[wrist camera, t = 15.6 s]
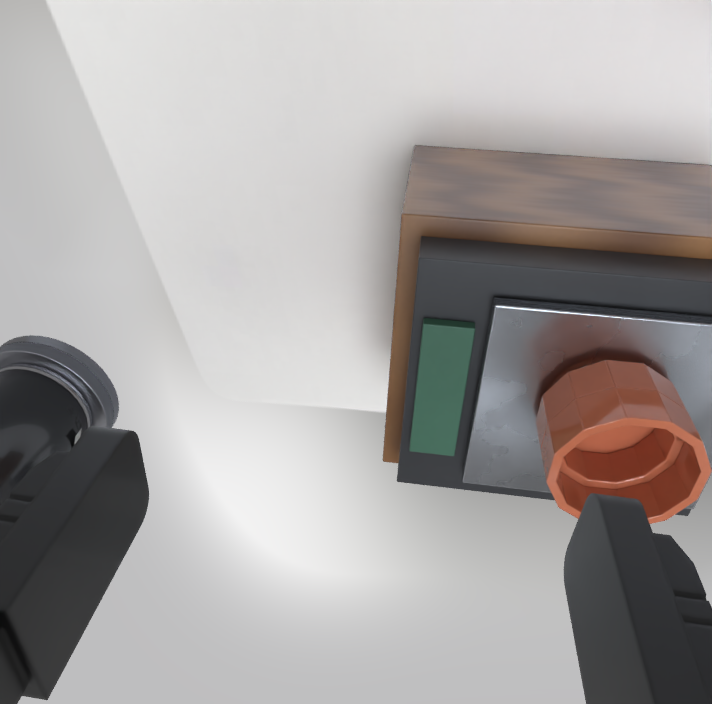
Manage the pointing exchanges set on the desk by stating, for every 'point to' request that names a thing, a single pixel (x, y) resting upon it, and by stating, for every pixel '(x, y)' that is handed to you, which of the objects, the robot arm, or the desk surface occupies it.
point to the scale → (471, 321)
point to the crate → (539, 220)
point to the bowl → (620, 440)
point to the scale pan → (557, 357)
